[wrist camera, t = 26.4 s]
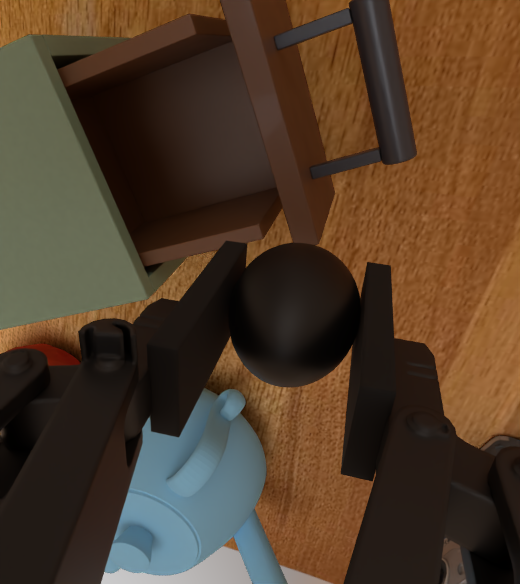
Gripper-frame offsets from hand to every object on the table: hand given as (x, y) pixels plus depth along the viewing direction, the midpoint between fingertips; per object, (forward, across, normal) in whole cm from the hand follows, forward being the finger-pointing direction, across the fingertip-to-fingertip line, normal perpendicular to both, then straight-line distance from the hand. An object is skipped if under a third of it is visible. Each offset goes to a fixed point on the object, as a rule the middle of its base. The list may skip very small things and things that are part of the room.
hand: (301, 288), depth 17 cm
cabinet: (+16, -18, -2) cm, 24 cm away
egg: (+1, 0, 0) cm, 1 cm away
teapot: (+16, -8, -26) cm, 32 cm away
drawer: (+15, -6, +3) cm, 17 cm away
